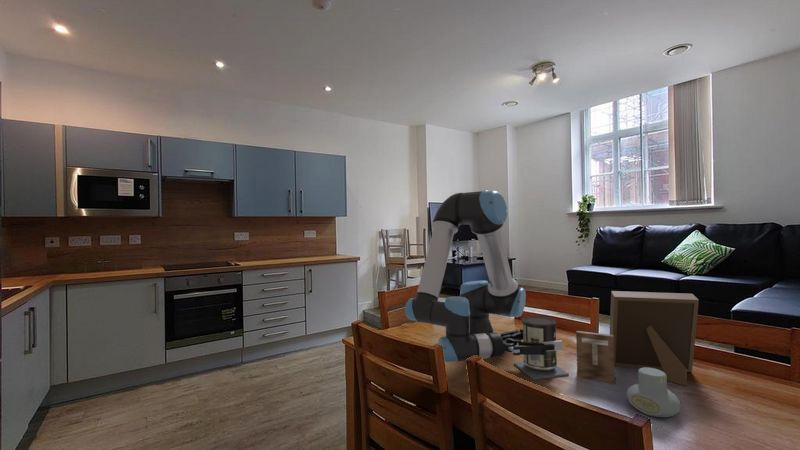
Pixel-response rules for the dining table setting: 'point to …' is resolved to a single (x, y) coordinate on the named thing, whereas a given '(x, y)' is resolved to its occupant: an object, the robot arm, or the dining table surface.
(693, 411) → the dining table surface
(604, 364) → the letter tile
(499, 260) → the robot arm
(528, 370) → the grey mat
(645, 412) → the air freshener
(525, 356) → the coffee can
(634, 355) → the photo frame
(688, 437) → the dining table surface
